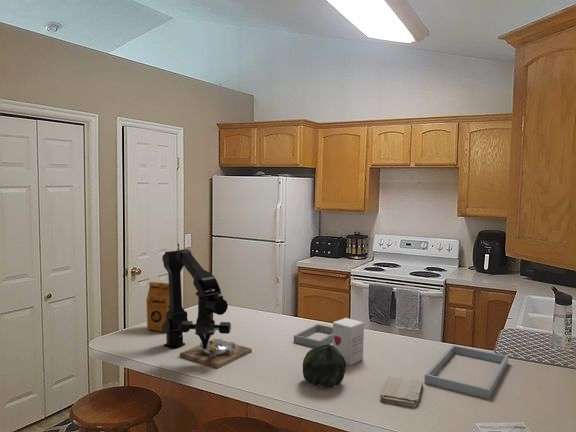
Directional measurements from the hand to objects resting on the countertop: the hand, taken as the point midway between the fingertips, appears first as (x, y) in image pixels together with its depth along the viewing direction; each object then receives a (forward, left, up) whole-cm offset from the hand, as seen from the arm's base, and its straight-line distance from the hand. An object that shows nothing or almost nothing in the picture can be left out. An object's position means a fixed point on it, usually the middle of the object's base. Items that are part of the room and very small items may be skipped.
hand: (205, 349), depth 180 cm
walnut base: (-2, +9, -5) cm, 10 cm away
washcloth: (+71, +18, -6) cm, 73 cm away
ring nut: (-2, +9, -4) cm, 10 cm away
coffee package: (-43, +17, -5) cm, 47 cm away
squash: (+46, +10, -6) cm, 47 cm away
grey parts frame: (+22, +48, -5) cm, 53 cm away
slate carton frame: (+85, +48, -5) cm, 98 cm away
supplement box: (+43, +34, -5) cm, 55 cm away
